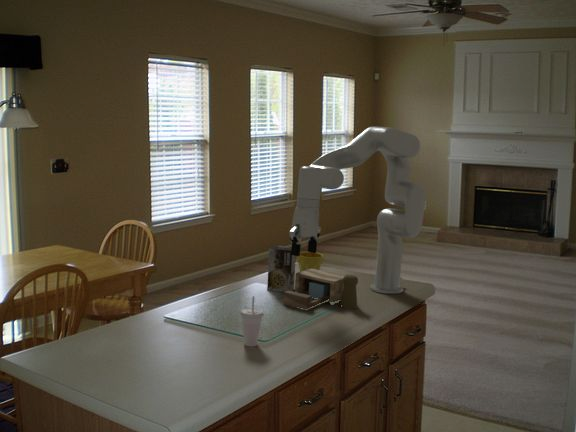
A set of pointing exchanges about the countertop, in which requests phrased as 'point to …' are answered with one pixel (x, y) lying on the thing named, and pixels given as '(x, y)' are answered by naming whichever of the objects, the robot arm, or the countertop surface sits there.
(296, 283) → the tan boxy piece
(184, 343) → the countertop surface
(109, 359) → the countertop surface
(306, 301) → the brown wooden frame
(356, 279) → the cork
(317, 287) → the blue block
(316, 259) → the plant pot
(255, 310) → the smoothie
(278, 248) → the coffee box
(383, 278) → the robot arm
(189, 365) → the countertop surface
